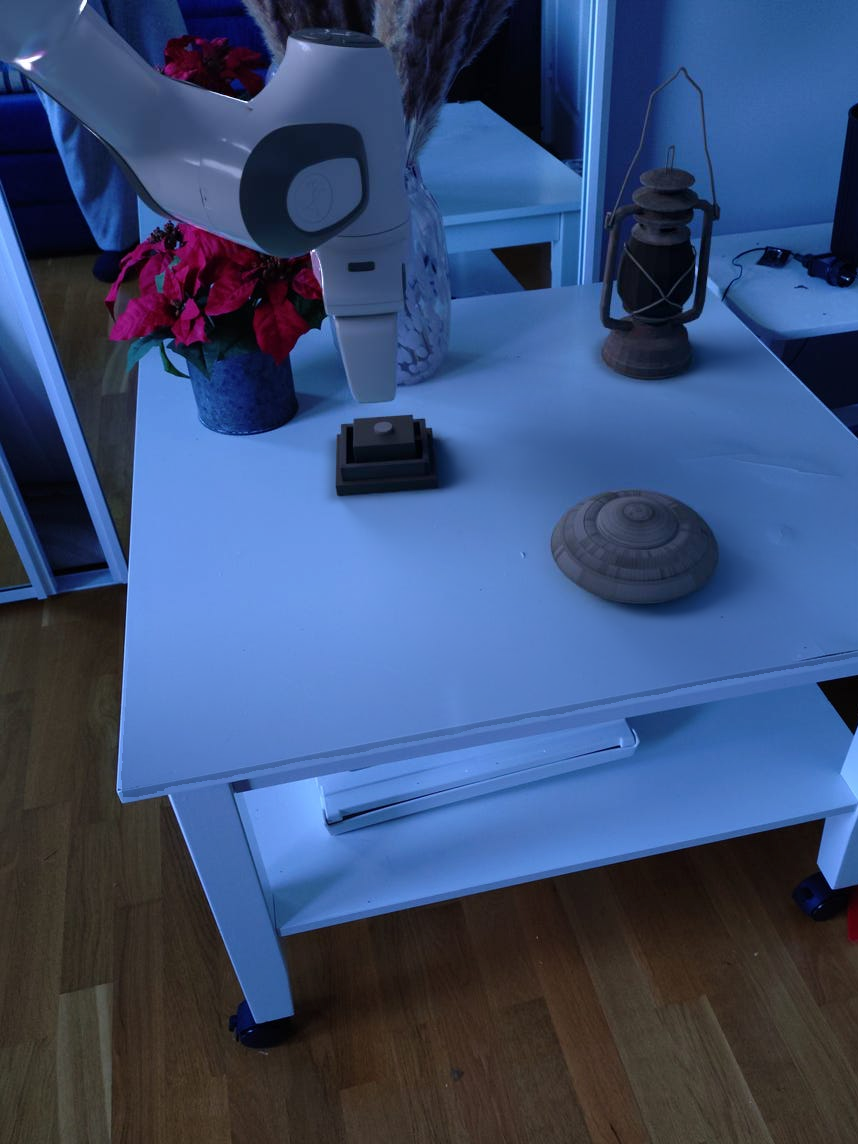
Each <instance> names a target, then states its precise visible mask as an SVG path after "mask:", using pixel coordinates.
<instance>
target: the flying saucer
mask: <svg viewBox="0 0 858 1144" xmlns="http://www.w3.org/2000/svg"><path fill="white" fill-rule="evenodd" d="M550 551H551V556H552V558H553V561H554V563H555V564H556V566H557V567H558V569H559V571H561V573H562V574H563V575H564V576H565V577H566V578H567V579H568V580H570V581H571V582H572V583H573V584H575V585H576V586H578V587H579V588H581V589H583V590H584V591H586V592H588V593H590V594H593V595H595V596H597V597H600V598H603V599H606V600H610V601H614V602H619V603H626V604H635V605H636V604H641V605H643V604H645V605H646V604H659V603H665V602H668V601H669V602H670V601H673V600H676V599H680V598H682V597H685V596H688V595H689V594H691V593H693V592H695V591H696V590H698V589H700V588H701V587H702V586H704V585H705V584H706V583H707V582H708V580H709V579H710V578H711V577H712V576H713V574H714V572H715V571H716V570H717V566H718V563H719V560H720V559H719V558H720V549H719V543H718V541H717V538H716V536H715V534H714V531H713V529H712V528H711V527H710V526H709V524H708V523H707V522H706V520H705V519H704V517H702V516H701V515H700V514H699V513H698V512H697V511H695V510H694V508H692V507H690V505H688V504H686V503H684V502H683V501H681V500H679V499H677V498H675V497H673V496H671V495H668V494H666V493H663V492H659V491H655V490H650V489H644V488H616V489H610V490H606V491H603V492H602V491H601V492H599V493H595V494H593V495H590V496H589V497H586V498H584V499H582V500H581V501H579V502H578V503H576V504H575V505H573V506H572V507H571V508H569V509H568V510H567V511H566V512H565V513H564V514H563V515H562V516H561V518H560V519H558V521H557V523H556V524H555V526H554V528H553V529H552V533H551V537H550Z"/></svg>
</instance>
